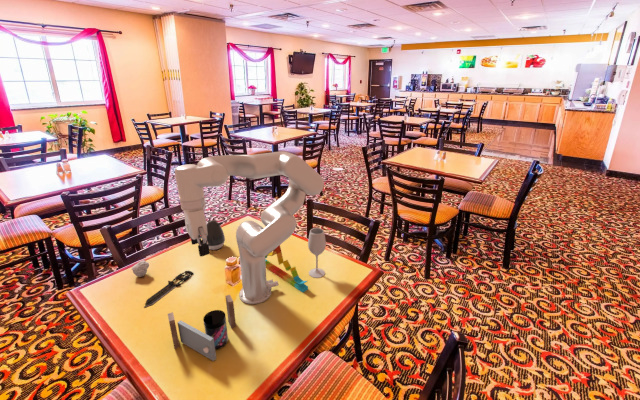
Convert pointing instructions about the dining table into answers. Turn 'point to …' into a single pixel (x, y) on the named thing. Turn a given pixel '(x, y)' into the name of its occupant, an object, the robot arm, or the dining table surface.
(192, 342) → the door
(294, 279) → the chart
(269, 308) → the dining table surface
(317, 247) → the wineglass
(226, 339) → the supplement container
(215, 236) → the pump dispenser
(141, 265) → the white rounded lump
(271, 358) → the dining table surface
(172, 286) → the knife
